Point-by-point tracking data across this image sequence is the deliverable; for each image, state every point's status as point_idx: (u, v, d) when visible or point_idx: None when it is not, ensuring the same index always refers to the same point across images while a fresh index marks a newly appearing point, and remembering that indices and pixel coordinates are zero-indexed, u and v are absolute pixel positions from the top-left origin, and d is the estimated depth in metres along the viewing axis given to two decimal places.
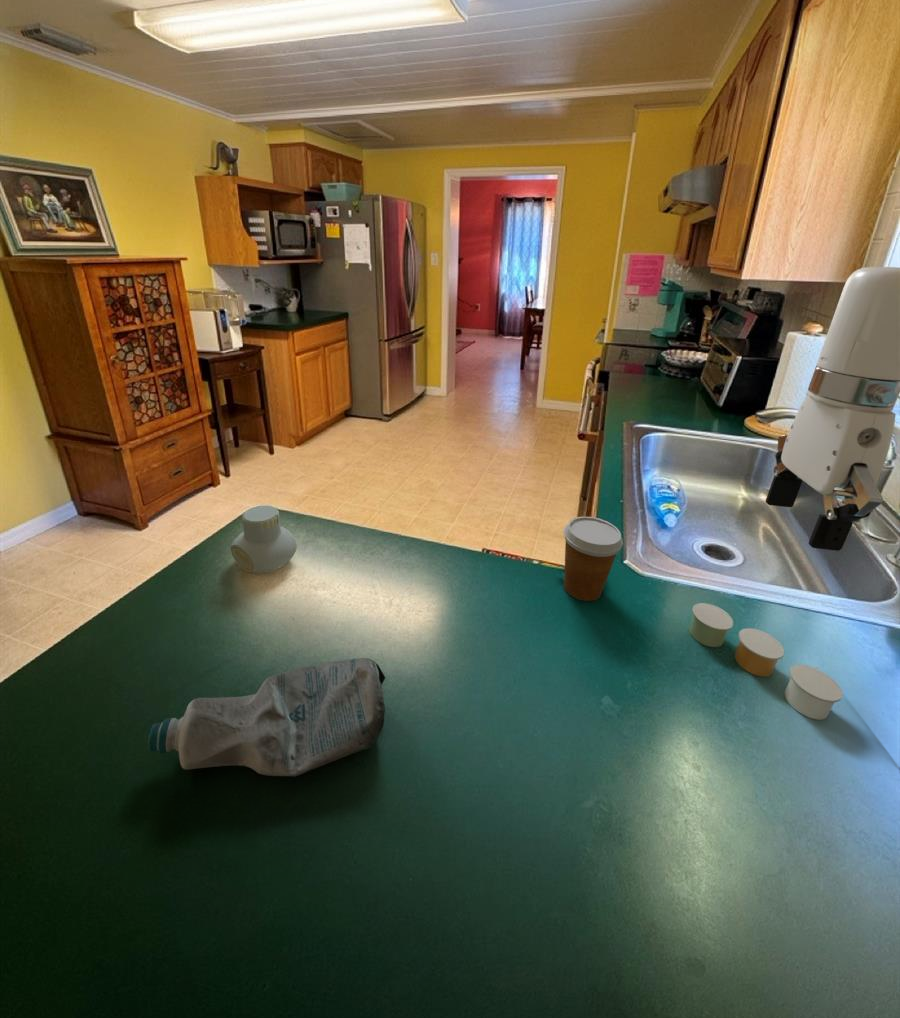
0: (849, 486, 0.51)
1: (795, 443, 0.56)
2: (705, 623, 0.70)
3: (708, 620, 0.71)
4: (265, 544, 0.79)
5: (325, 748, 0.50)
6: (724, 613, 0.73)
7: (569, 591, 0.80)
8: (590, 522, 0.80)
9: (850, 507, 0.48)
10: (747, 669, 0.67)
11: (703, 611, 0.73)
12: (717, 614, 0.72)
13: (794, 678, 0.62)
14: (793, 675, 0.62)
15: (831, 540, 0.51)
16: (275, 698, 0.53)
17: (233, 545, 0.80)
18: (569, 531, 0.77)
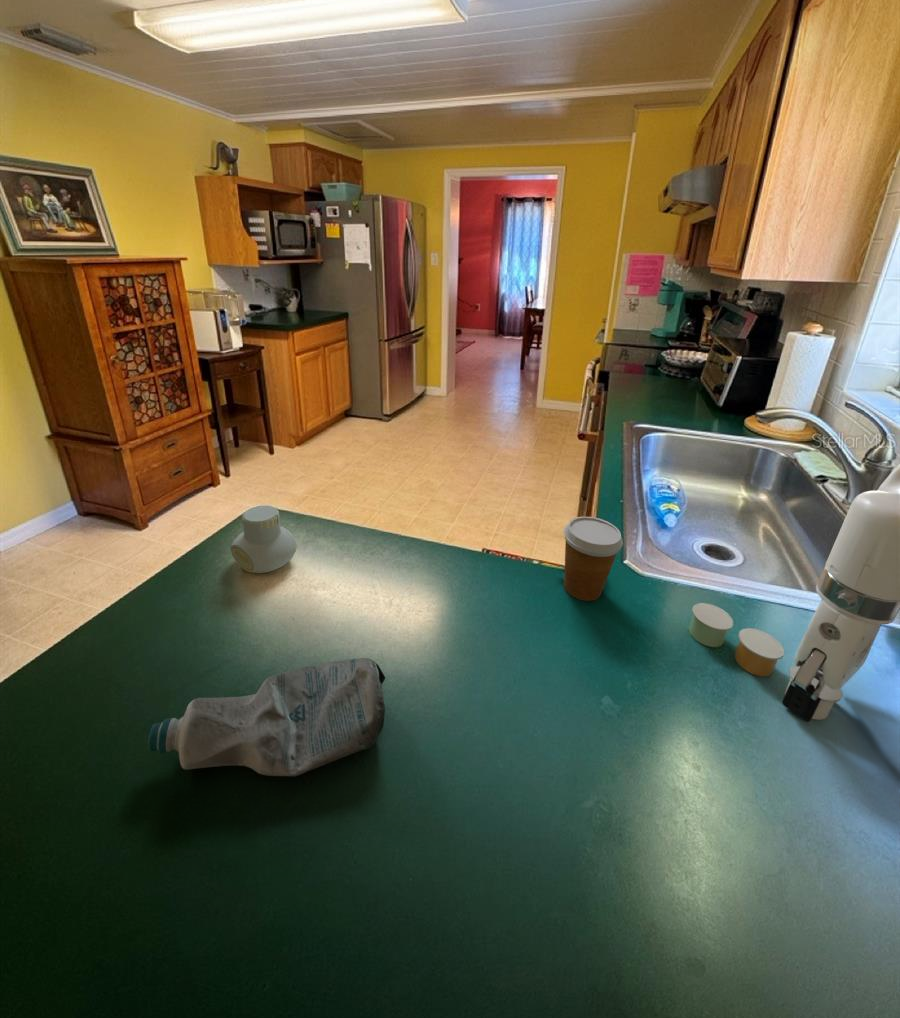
0: None
1: None
2: (705, 623, 0.70)
3: (708, 620, 0.71)
4: (265, 544, 0.79)
5: (325, 748, 0.50)
6: (724, 613, 0.73)
7: (569, 591, 0.80)
8: (590, 522, 0.80)
9: None
10: (747, 669, 0.67)
11: (703, 611, 0.73)
12: (717, 614, 0.72)
13: None
14: (793, 675, 0.62)
15: (793, 705, 0.60)
16: (275, 698, 0.53)
17: (233, 545, 0.80)
18: (569, 531, 0.77)
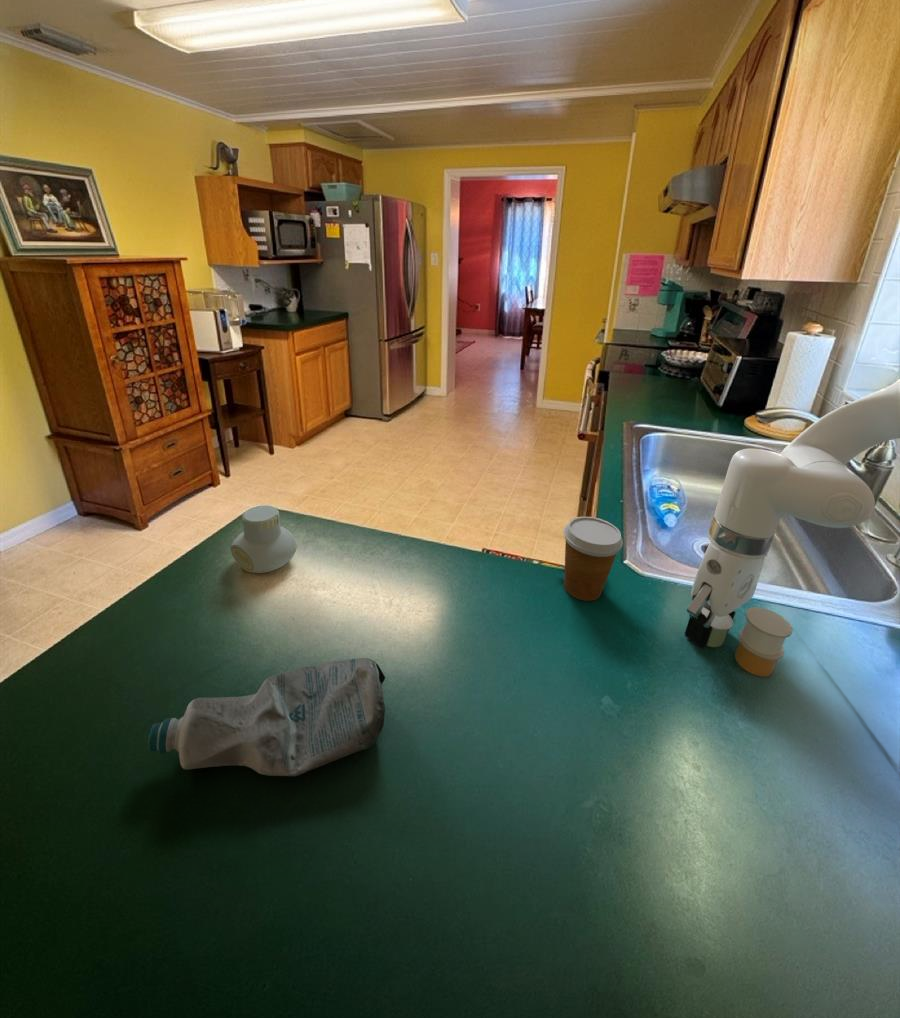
0: None
1: None
2: None
3: None
4: (265, 544, 0.79)
5: (325, 748, 0.50)
6: None
7: (569, 591, 0.80)
8: (590, 522, 0.80)
9: None
10: (747, 669, 0.67)
11: (703, 611, 0.73)
12: None
13: (749, 618, 0.66)
14: (748, 615, 0.67)
15: (692, 634, 0.71)
16: (275, 698, 0.53)
17: (233, 545, 0.80)
18: (569, 531, 0.77)
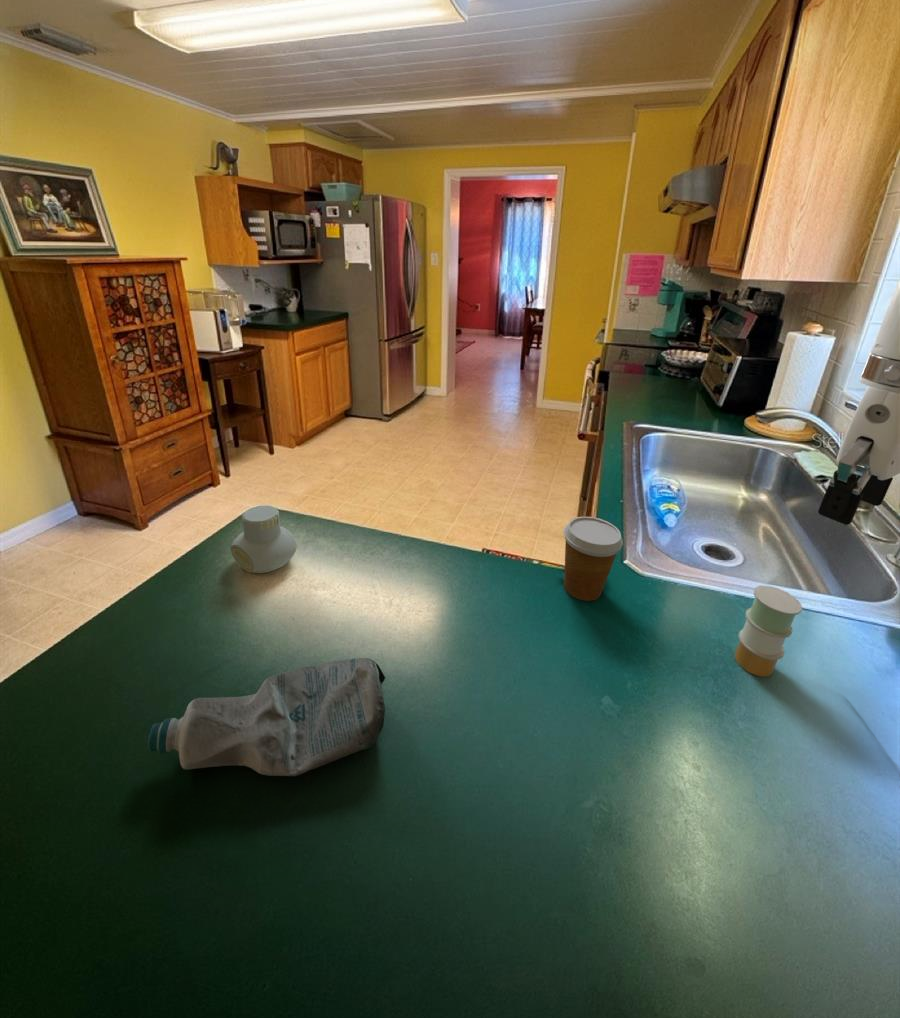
0: None
1: None
2: (771, 607, 0.63)
3: (774, 603, 0.63)
4: (265, 544, 0.79)
5: (325, 748, 0.50)
6: (790, 596, 0.65)
7: (569, 591, 0.80)
8: (590, 522, 0.80)
9: (836, 471, 0.53)
10: (747, 669, 0.67)
11: (766, 594, 0.65)
12: (782, 597, 0.65)
13: (749, 618, 0.66)
14: (748, 615, 0.67)
15: (832, 508, 0.55)
16: (275, 697, 0.53)
17: (233, 545, 0.80)
18: (569, 531, 0.77)
